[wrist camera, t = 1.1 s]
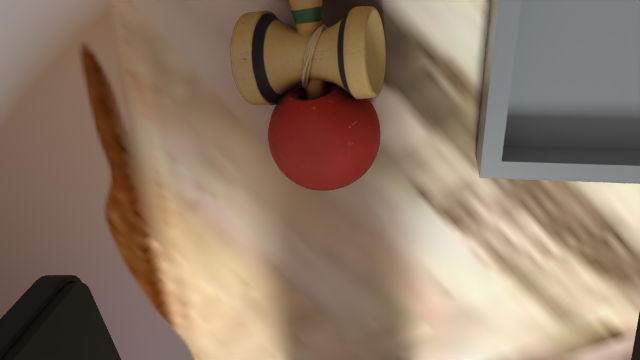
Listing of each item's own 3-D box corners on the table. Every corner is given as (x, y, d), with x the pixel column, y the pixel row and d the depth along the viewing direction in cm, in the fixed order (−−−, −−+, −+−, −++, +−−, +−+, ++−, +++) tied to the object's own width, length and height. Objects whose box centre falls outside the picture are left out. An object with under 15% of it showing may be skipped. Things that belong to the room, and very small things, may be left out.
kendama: (206, -160, 27) (265, 177, 33) (173, -201, 21) (252, 218, 27) (360, -183, 27) (391, 162, 33) (370, -232, 21) (406, 200, 27)
